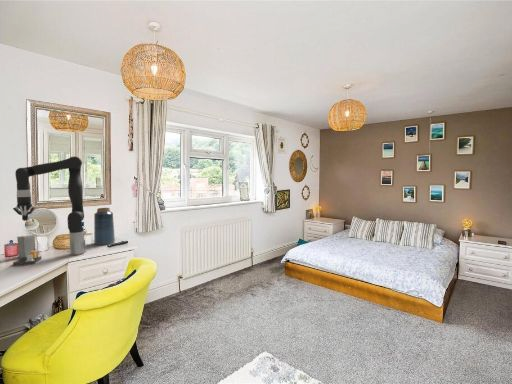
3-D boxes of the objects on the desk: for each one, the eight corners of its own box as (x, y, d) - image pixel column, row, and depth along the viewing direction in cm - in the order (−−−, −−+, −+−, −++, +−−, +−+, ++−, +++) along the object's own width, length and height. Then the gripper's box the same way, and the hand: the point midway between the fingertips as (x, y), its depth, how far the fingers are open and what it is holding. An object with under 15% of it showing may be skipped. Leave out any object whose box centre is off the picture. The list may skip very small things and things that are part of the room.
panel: (42, 258, 193) (41, 250, 193) (33, 264, 182) (33, 255, 181) (22, 260, 190) (21, 251, 190) (12, 265, 178) (11, 256, 178)
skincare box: (25, 258, 195) (23, 237, 194) (17, 257, 196) (16, 236, 195) (36, 254, 203) (35, 234, 202) (29, 254, 205) (28, 234, 204)
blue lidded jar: (97, 241, 245) (96, 207, 243) (117, 240, 249) (116, 207, 247) (91, 246, 229) (89, 209, 227) (112, 244, 233) (110, 209, 231)
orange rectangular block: (38, 257, 189) (38, 250, 189) (36, 259, 186) (35, 251, 185) (31, 258, 188) (30, 251, 188) (28, 259, 184) (28, 252, 184)
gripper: (37, 195, 192) (39, 219, 193) (15, 196, 188) (17, 220, 189) (32, 196, 185) (33, 221, 186) (9, 196, 181) (10, 221, 182)
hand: (25, 220), depth 187 cm, fingers closed
